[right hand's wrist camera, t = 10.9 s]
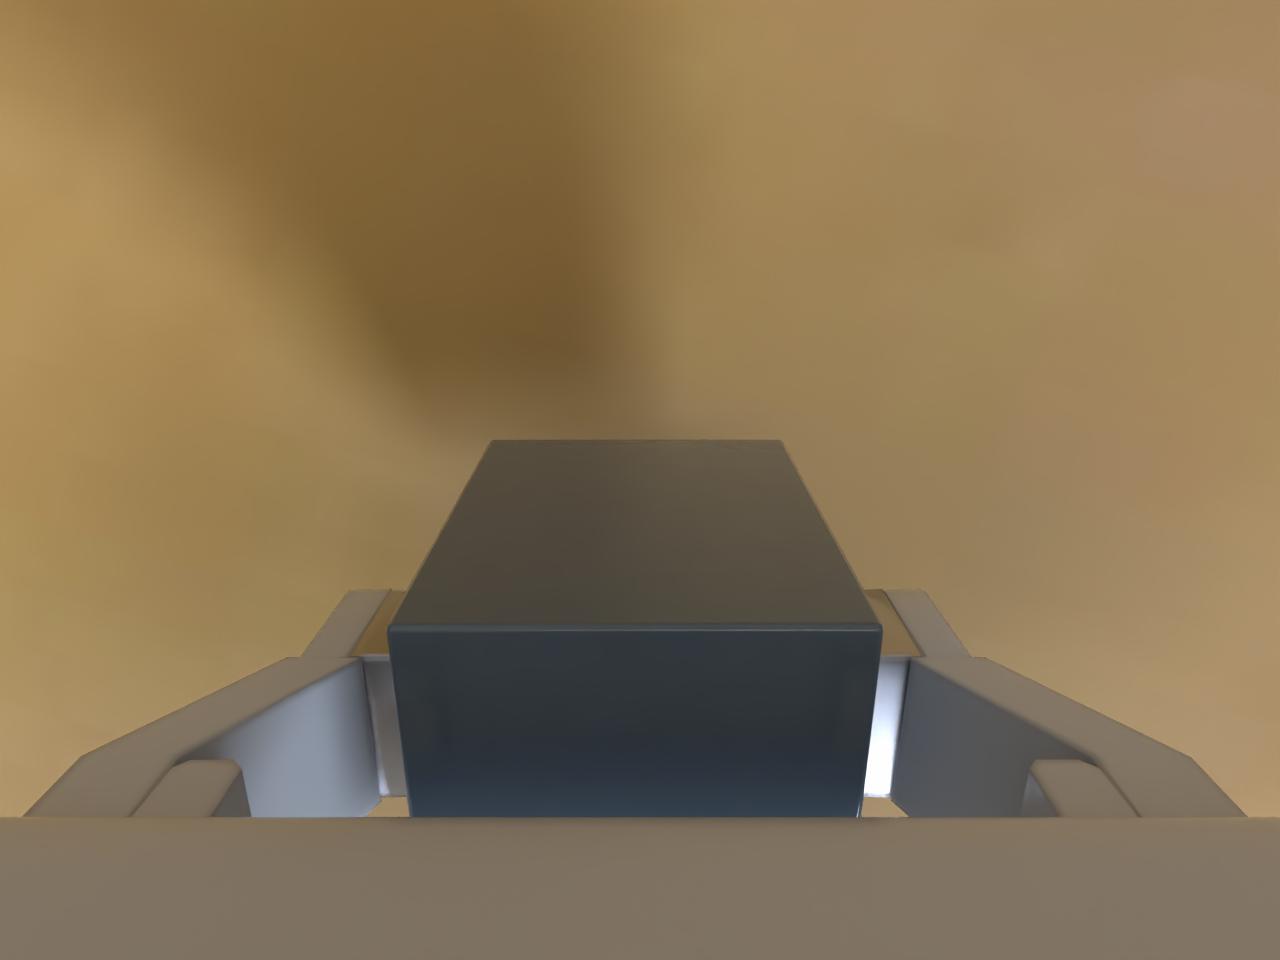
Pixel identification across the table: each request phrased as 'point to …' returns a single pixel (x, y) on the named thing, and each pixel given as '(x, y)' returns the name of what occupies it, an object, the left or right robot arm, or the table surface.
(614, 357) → the table surface
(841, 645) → the cube
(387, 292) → the table surface
